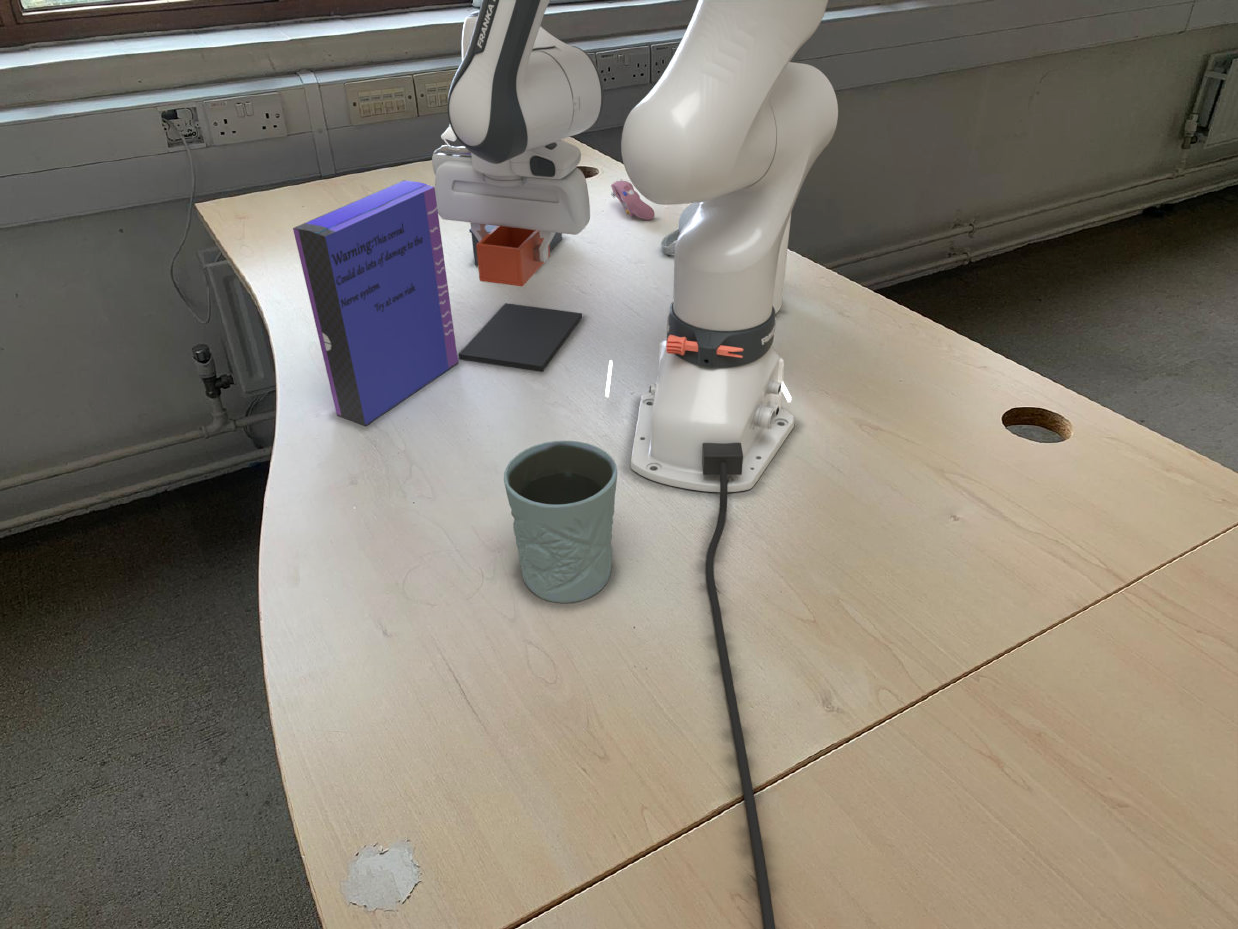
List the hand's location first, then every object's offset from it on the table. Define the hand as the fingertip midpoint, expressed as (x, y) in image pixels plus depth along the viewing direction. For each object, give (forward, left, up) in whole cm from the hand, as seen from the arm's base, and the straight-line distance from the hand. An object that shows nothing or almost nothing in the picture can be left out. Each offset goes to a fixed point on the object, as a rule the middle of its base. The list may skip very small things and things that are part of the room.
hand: (515, 256), depth 118 cm
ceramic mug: (+36, -16, -12) cm, 41 cm away
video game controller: (+50, -1, -12) cm, 51 cm away
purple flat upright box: (-17, +10, -12) cm, 23 cm away
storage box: (+28, +12, -12) cm, 33 cm away
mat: (0, 0, -12) cm, 12 cm away
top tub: (0, 0, -2) cm, 2 cm away
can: (+18, -27, -12) cm, 35 cm away
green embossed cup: (-43, -22, -12) cm, 50 cm away
